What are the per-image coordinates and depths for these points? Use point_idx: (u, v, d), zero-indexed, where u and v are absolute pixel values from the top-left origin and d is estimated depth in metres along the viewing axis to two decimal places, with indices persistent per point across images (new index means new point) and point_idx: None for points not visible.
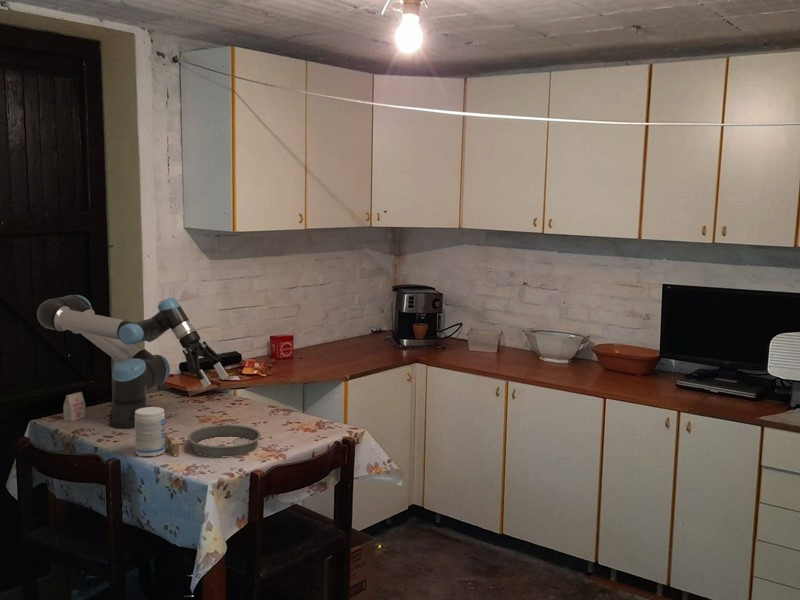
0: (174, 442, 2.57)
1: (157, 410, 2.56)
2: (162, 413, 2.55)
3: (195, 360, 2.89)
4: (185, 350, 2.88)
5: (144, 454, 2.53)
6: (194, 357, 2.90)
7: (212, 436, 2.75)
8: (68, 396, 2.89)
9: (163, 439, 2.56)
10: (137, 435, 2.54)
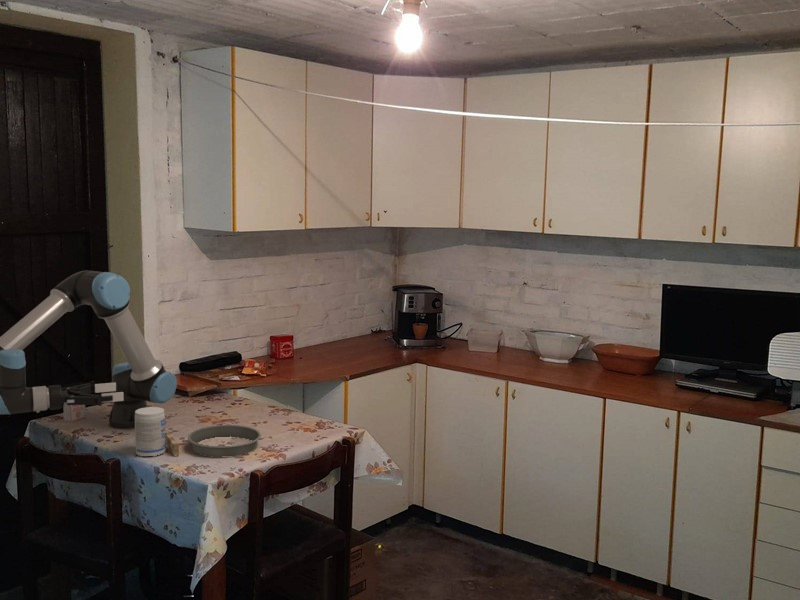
0: (174, 442, 2.57)
1: (157, 410, 2.56)
2: (162, 413, 2.55)
3: None
4: None
5: (144, 454, 2.53)
6: None
7: (212, 436, 2.75)
8: None
9: (163, 439, 2.56)
10: (137, 435, 2.54)
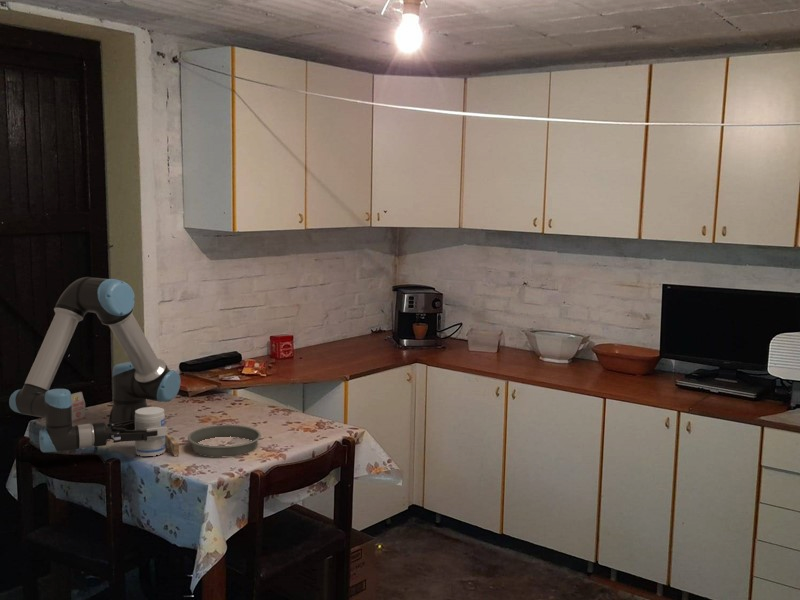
0: (174, 442, 2.57)
1: (157, 410, 2.56)
2: (162, 413, 2.55)
3: None
4: None
5: (144, 454, 2.53)
6: None
7: (212, 436, 2.75)
8: None
9: (163, 439, 2.56)
10: None
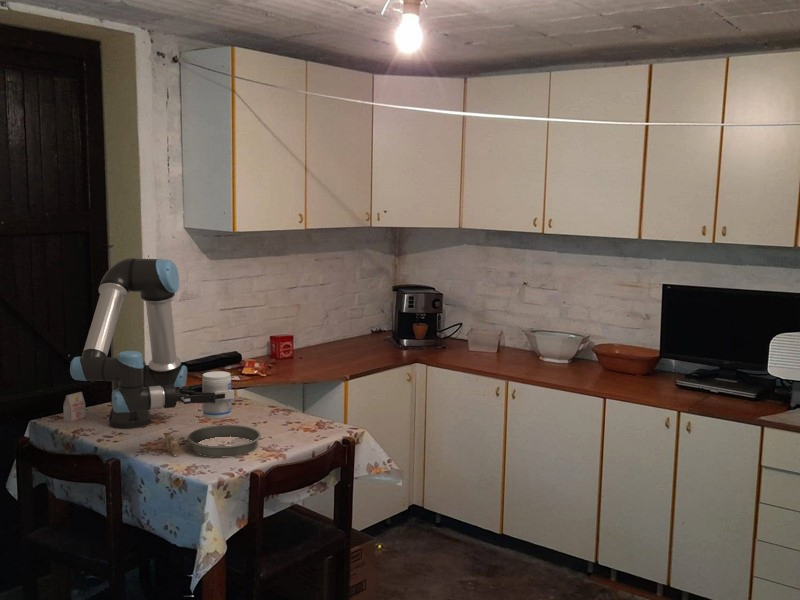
0: (174, 442, 2.57)
1: (224, 374, 2.61)
2: (229, 377, 2.60)
3: None
4: None
5: (212, 416, 2.58)
6: None
7: (212, 436, 2.75)
8: (68, 396, 2.89)
9: (229, 402, 2.61)
10: None
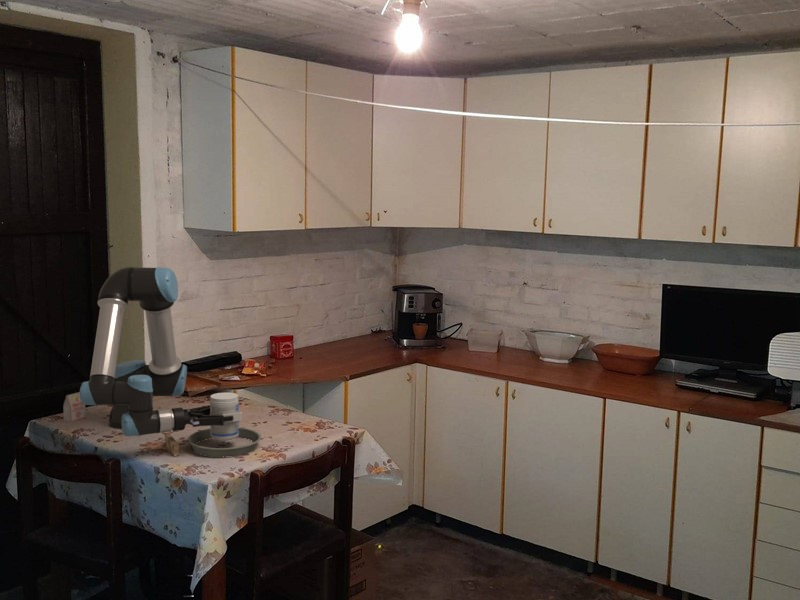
0: (174, 442, 2.57)
1: (231, 395, 2.64)
2: (236, 398, 2.63)
3: None
4: None
5: (220, 438, 2.61)
6: None
7: None
8: (68, 396, 2.89)
9: (237, 423, 2.64)
10: None
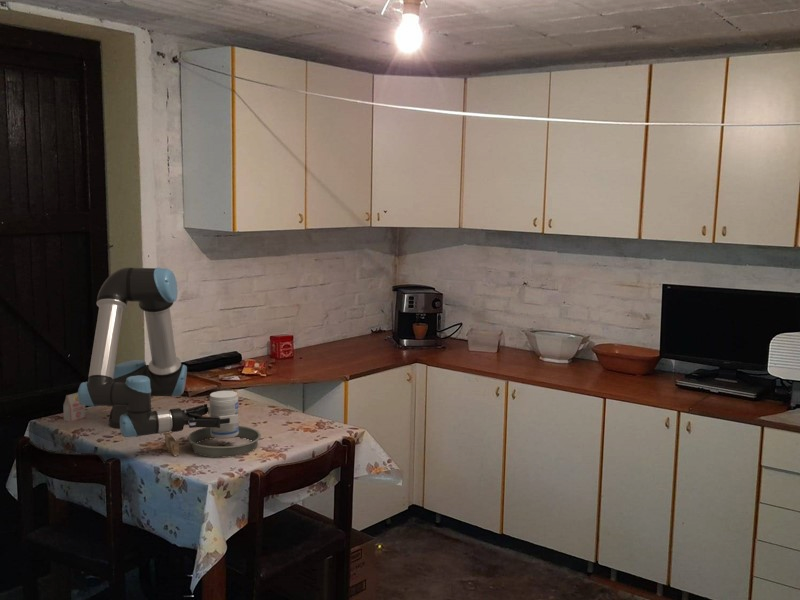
0: (174, 442, 2.57)
1: (231, 393, 2.64)
2: (236, 396, 2.63)
3: None
4: None
5: (219, 436, 2.61)
6: None
7: None
8: (68, 396, 2.89)
9: None
10: None
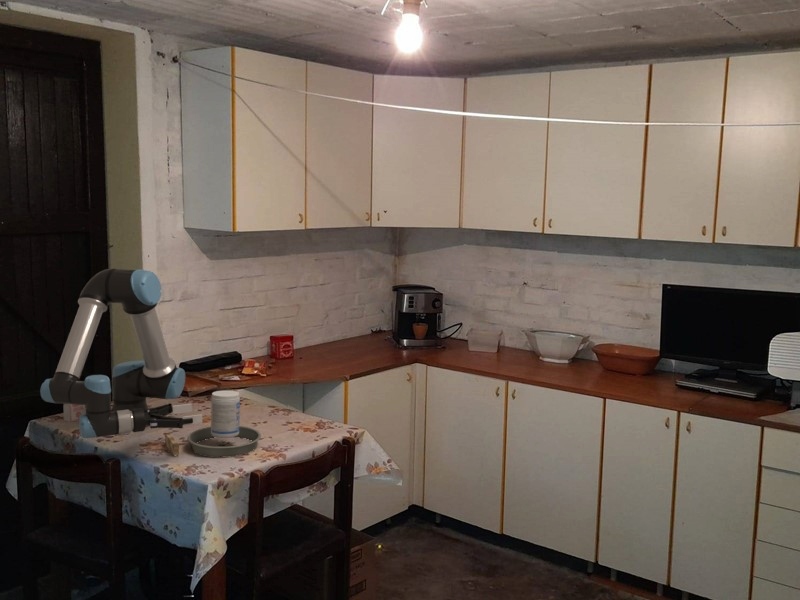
0: (174, 442, 2.57)
1: (233, 393, 2.64)
2: (238, 396, 2.63)
3: None
4: None
5: (219, 435, 2.61)
6: None
7: (212, 436, 2.75)
8: None
9: (238, 421, 2.64)
10: (213, 416, 2.62)
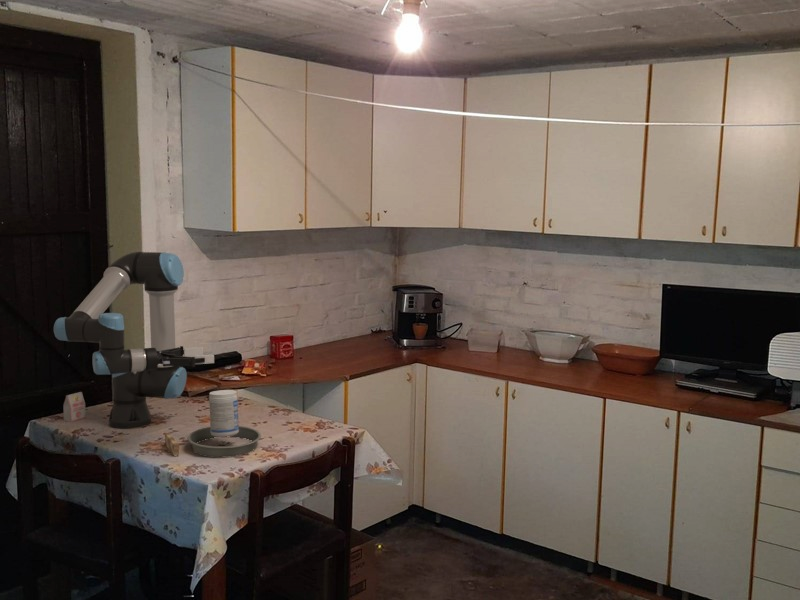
0: (174, 442, 2.57)
1: (230, 392, 2.65)
2: (234, 394, 2.64)
3: None
4: None
5: (218, 434, 2.61)
6: None
7: (212, 436, 2.75)
8: (68, 396, 2.89)
9: (236, 420, 2.64)
10: (211, 415, 2.62)
